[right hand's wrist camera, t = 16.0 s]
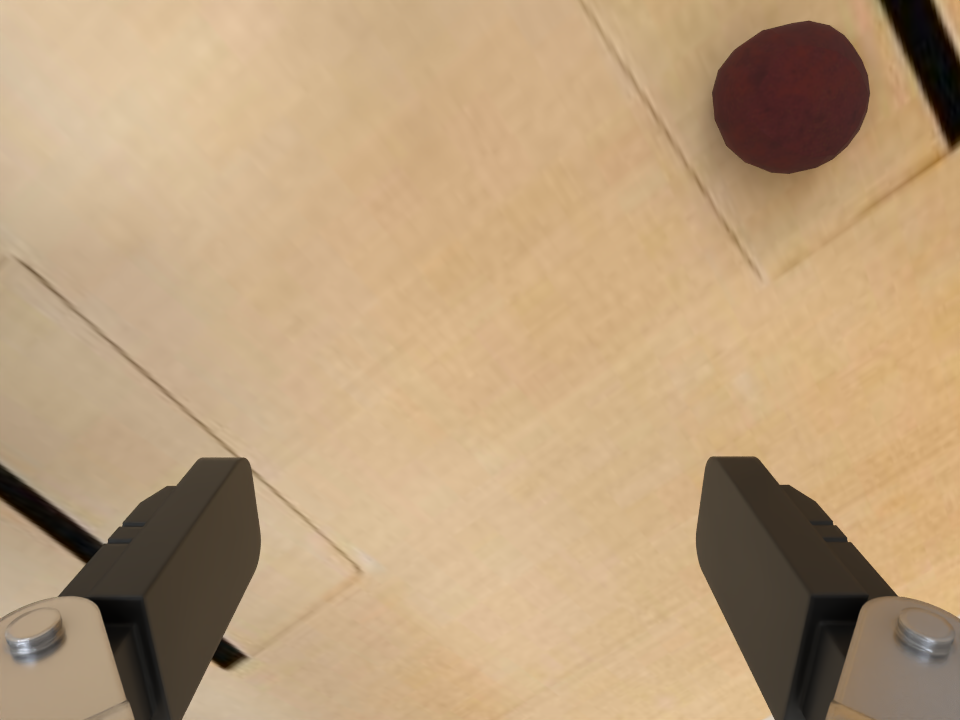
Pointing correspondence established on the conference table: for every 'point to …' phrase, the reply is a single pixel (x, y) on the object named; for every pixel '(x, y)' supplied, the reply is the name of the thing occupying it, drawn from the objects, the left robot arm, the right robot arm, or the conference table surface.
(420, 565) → the conference table surface
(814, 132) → the potato
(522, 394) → the conference table surface
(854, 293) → the conference table surface
